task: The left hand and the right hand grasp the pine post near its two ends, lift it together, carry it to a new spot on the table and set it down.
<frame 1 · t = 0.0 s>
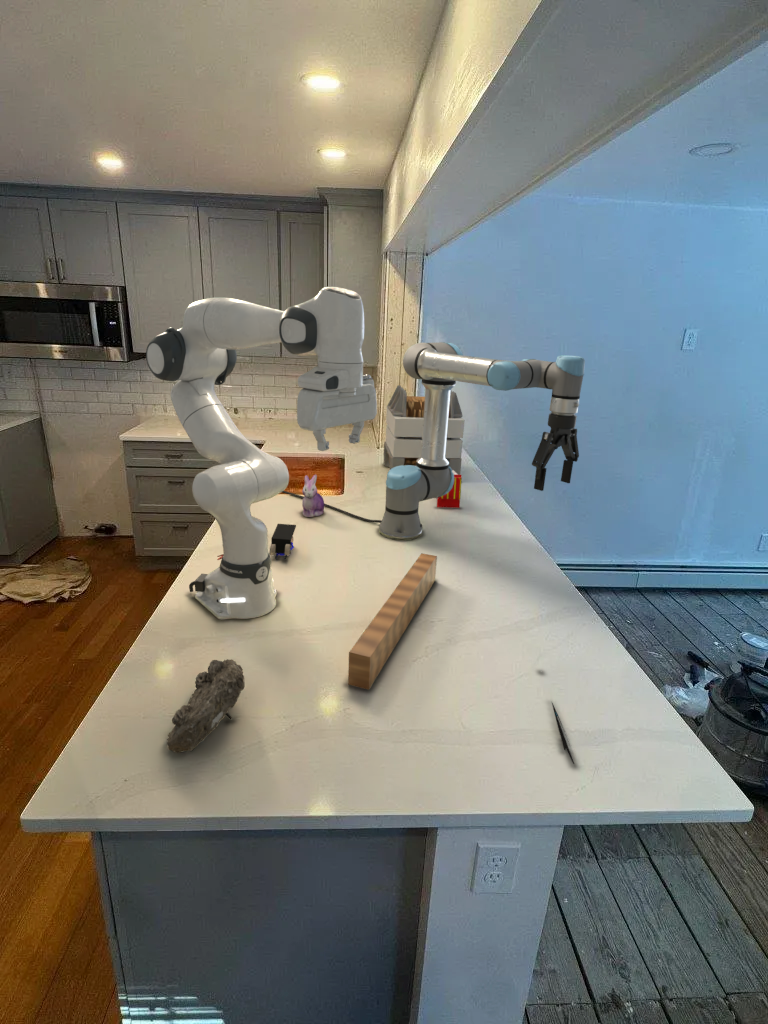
left hand: (339, 446, 115), 48 cm above the counter, tool pointing down, fingers open, 8 cm apart
right hand: (552, 485, 166), 28 cm above the counter, tool pointing down, fingers open, 13 cm apart
post: (398, 624, 143), on the counter
figurine: (313, 513, 215), on the counter
figurine character: (283, 553, 180), on the counter
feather: (554, 714, 113), on the counter
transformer: (419, 473, 275), on the counter
toy: (443, 497, 241), on the counter
fossil: (212, 717, 108), on the counter
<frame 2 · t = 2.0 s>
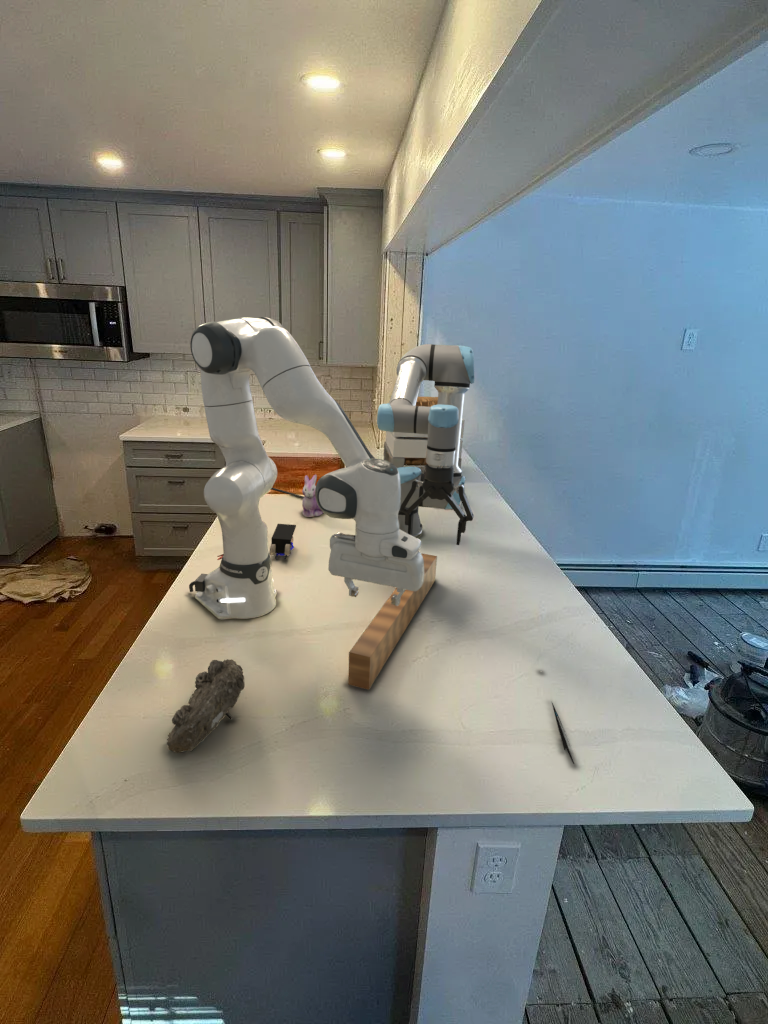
left hand: (374, 599, 120), 17 cm above the counter, tool pointing down, fingers open, 8 cm apart
right hand: (433, 539, 156), 15 cm above the counter, tool pointing down, fingers open, 13 cm apart
nothing on the counter moved.
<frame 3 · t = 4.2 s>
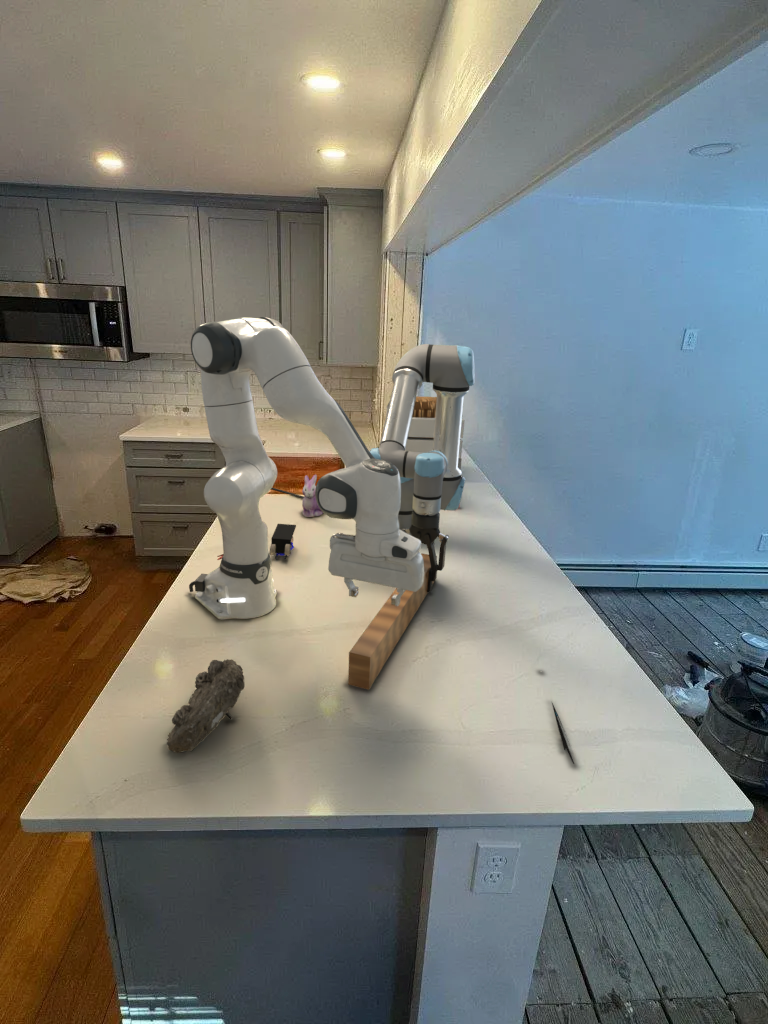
left hand: (374, 600, 120), 17 cm above the counter, tool pointing down, fingers open, 8 cm apart
right hand: (420, 588, 160), 1 cm above the counter, tool pointing down, fingers closed on post, 5 cm apart
post: (398, 624, 143), on the counter, touching right hand
everything else where it was.
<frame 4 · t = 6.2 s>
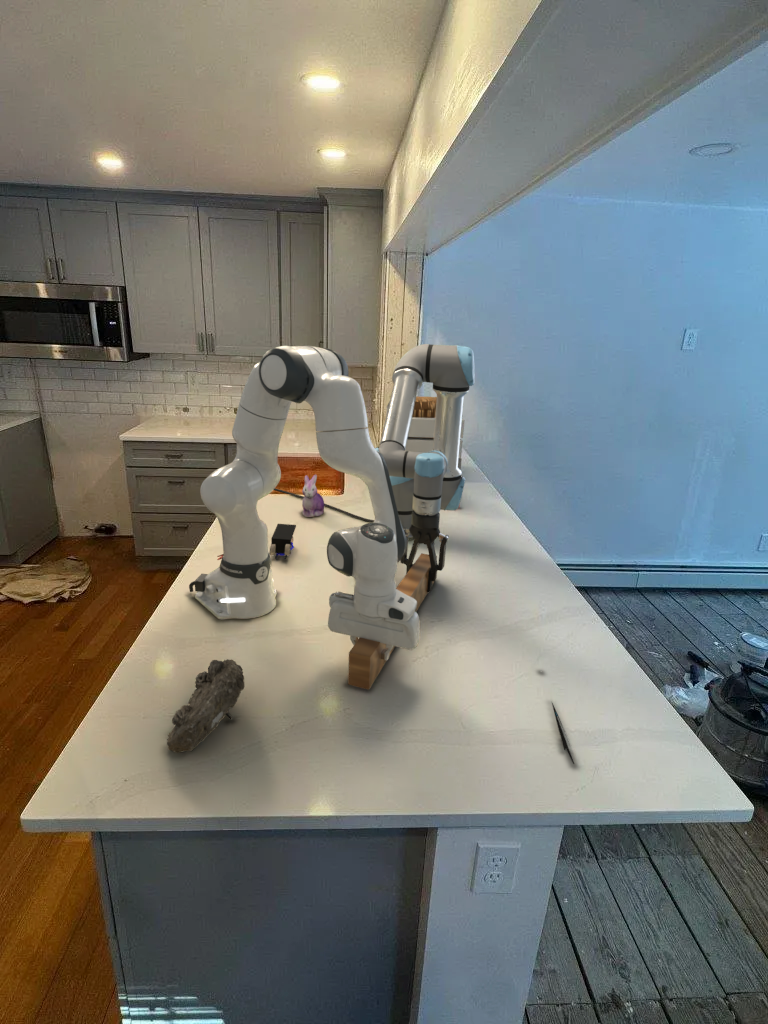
left hand: (372, 655, 124), 3 cm above the counter, tool pointing down, fingers closed on post, 5 cm apart
right hand: (420, 588, 160), 1 cm above the counter, tool pointing down, fingers closed on post, 5 cm apart
post: (398, 624, 143), on the counter, touching right hand, left hand
everything else where it was.
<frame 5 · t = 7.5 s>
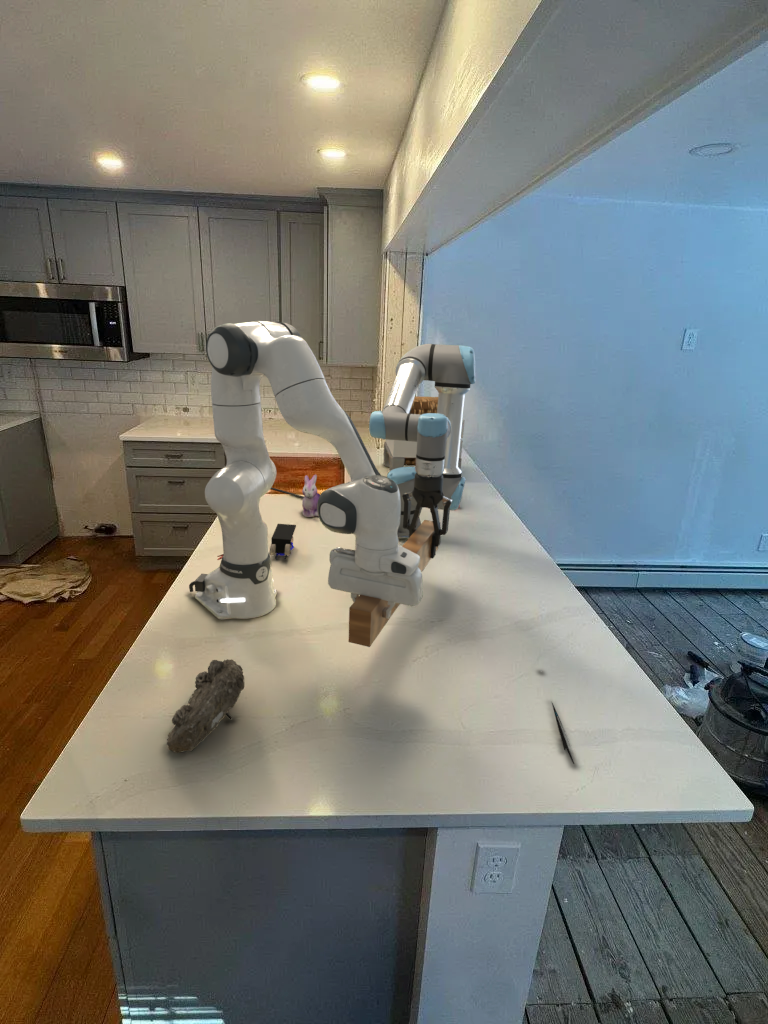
left hand: (373, 613, 121), 13 cm above the counter, tool pointing down, fingers closed on post, 5 cm apart
right hand: (423, 554, 157), 11 cm above the counter, tool pointing down, fingers closed on post, 5 cm apart
post: (401, 587, 139), point 10 cm above the counter, touching right hand, left hand
everything else where it was.
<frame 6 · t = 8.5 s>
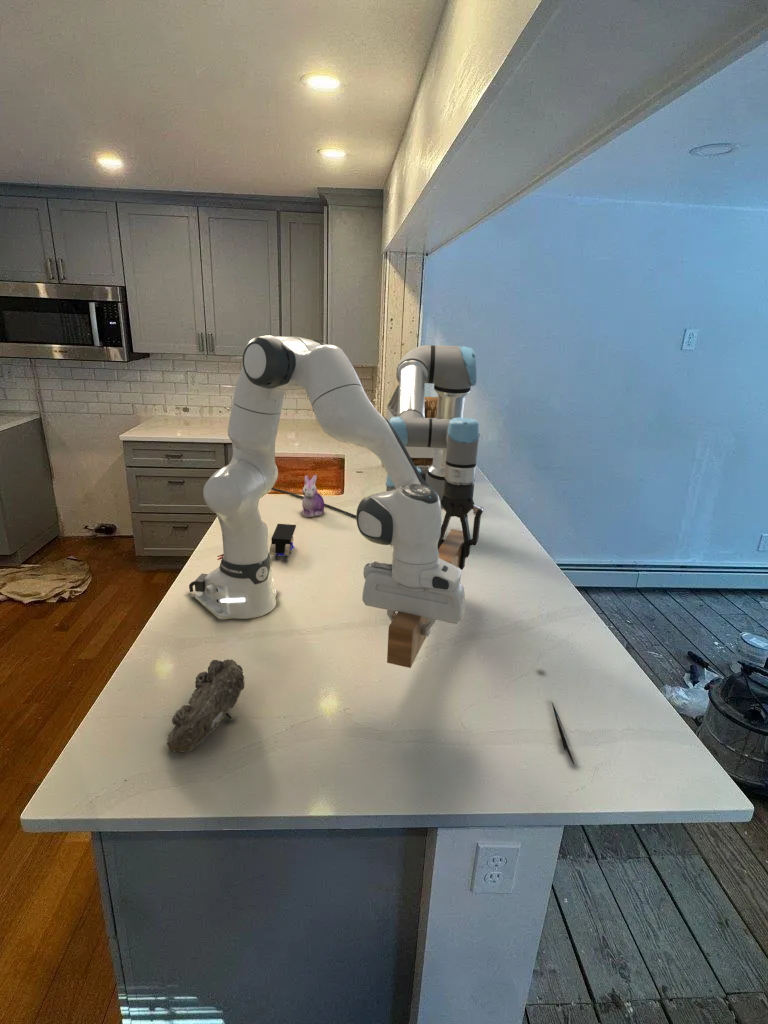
left hand: (411, 631, 113), 14 cm above the counter, tool pointing down, fingers closed on post, 5 cm apart
right hand: (451, 565, 149), 12 cm above the counter, tool pointing down, fingers closed on post, 5 cm apart
post: (433, 601, 132), point 11 cm above the counter, touching right hand, left hand
everything else where it was.
when the left hand's fingers open (4 cm above the counter, at t = 11.1 s): post drops 1 cm, on the counter.
when the right hand's fingers open (2 cm above the counter, at t = 11.1 s): post drops 1 cm, on the counter.
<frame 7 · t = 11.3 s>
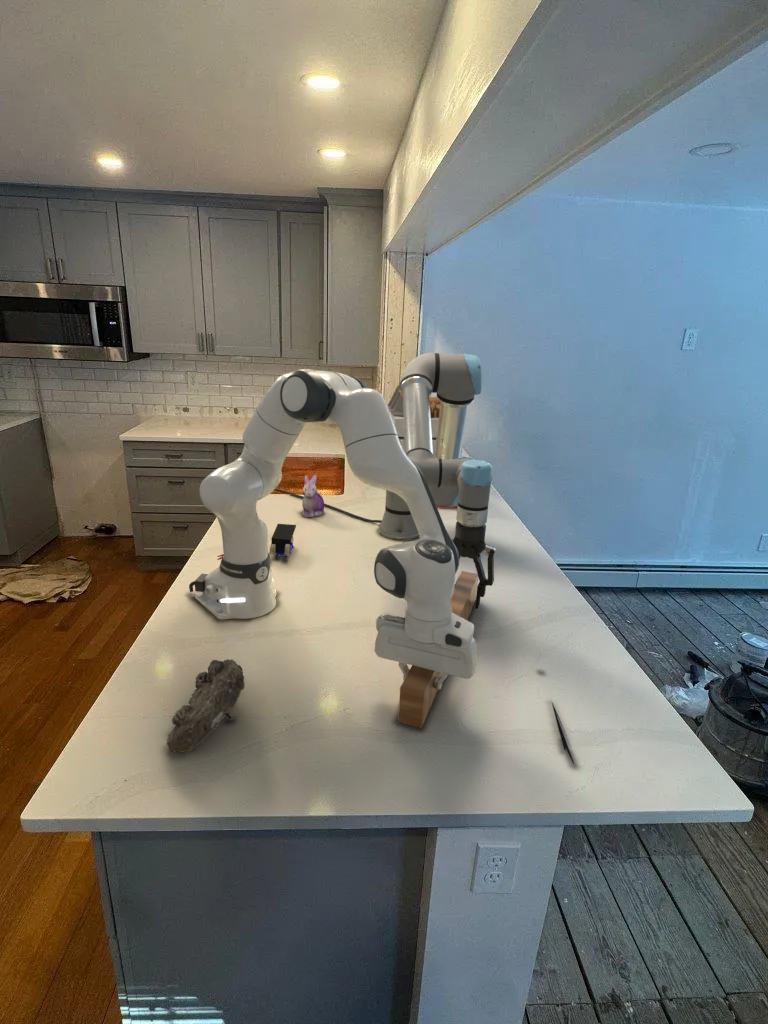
left hand: (422, 683, 114), 4 cm above the counter, tool pointing down, fingers open, 5 cm apart
right hand: (462, 603, 150), 2 cm above the counter, tool pointing down, fingers open, 7 cm apart
post: (443, 650, 133), on the counter, touching left hand
everything else where it was.
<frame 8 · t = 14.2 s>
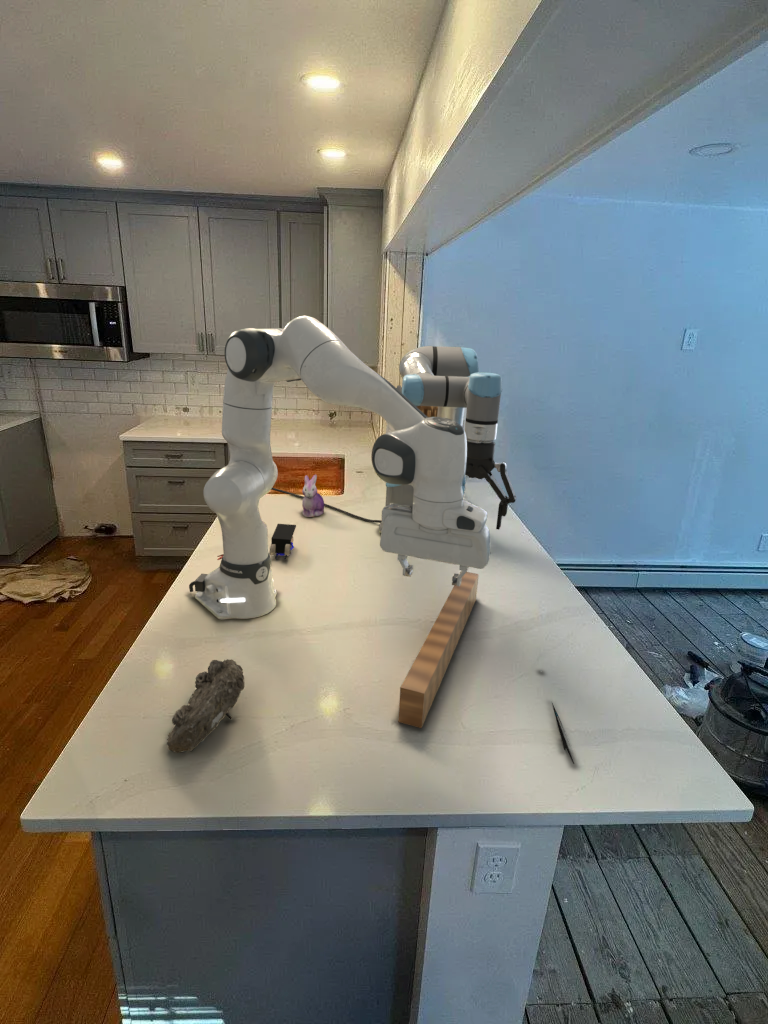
left hand: (431, 579, 106), 27 cm above the counter, tool pointing down, fingers open, 8 cm apart
right hand: (471, 523, 142), 25 cm above the counter, tool pointing down, fingers open, 13 cm apart
post: (443, 650, 133), on the counter
everything else where it was.
at the end: post inside the target area (0.2 cm from its centre), on the counter; post tilted 0°; post never tilted more than 2° during the clip; both hands held the post at the same time; the left hand is holding nothing; the right hand is holding nothing; post at rest at the end (0.0 cm/s) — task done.
